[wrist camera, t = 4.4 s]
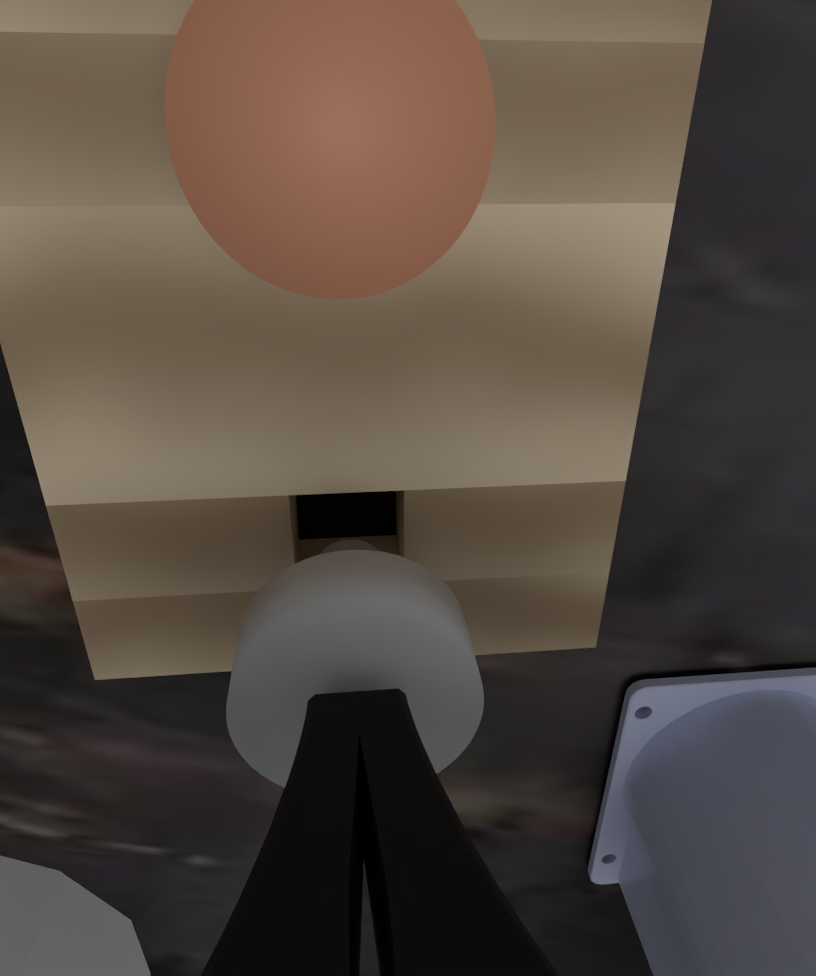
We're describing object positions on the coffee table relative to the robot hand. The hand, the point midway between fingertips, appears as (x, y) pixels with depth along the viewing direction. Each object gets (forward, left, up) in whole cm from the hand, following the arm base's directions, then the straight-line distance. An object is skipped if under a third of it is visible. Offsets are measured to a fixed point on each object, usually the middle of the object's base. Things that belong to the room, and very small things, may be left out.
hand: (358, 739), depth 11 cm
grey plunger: (0, 0, -4) cm, 4 cm away
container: (-19, +15, -8) cm, 25 cm away
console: (+4, 0, -7) cm, 8 cm away
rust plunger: (+8, 0, -6) cm, 10 cm away
